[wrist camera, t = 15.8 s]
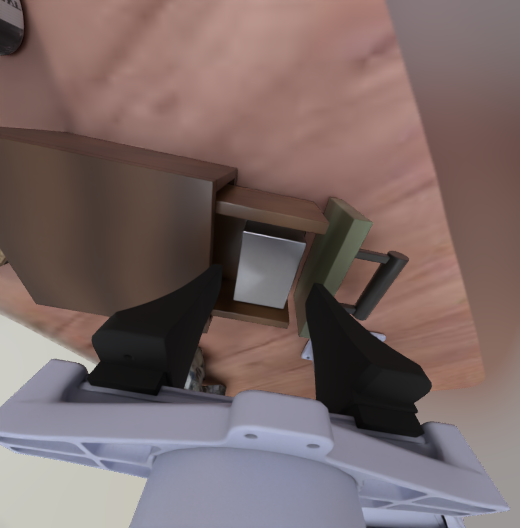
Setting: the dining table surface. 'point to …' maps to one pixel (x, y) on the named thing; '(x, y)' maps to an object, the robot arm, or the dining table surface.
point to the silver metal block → (268, 263)
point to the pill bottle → (10, 26)
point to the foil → (201, 377)
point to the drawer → (318, 261)
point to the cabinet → (104, 219)
